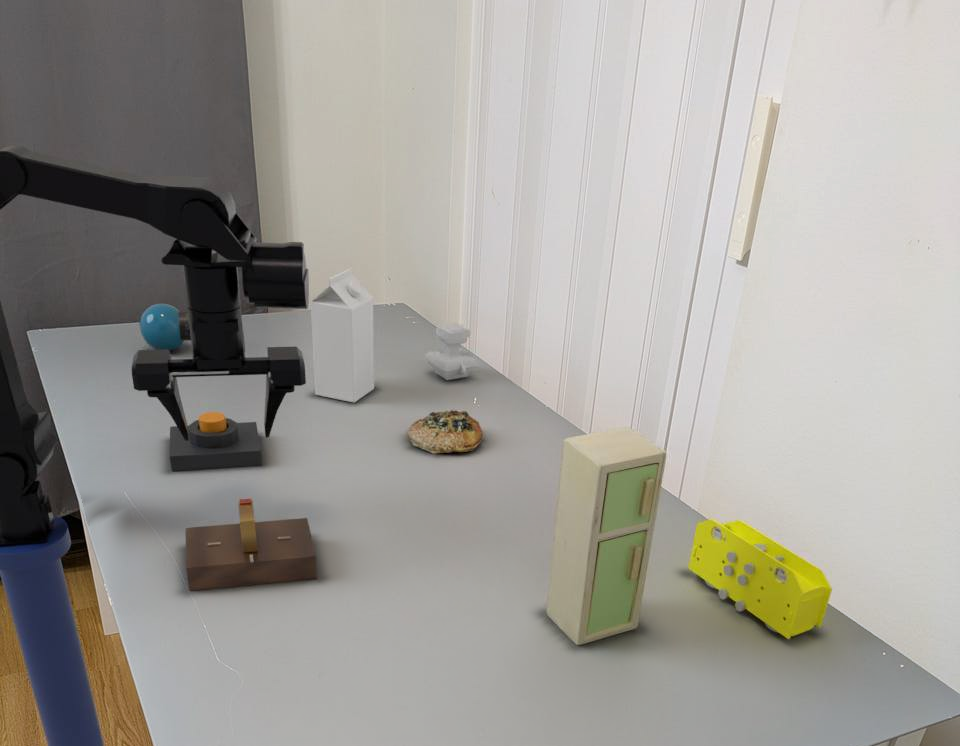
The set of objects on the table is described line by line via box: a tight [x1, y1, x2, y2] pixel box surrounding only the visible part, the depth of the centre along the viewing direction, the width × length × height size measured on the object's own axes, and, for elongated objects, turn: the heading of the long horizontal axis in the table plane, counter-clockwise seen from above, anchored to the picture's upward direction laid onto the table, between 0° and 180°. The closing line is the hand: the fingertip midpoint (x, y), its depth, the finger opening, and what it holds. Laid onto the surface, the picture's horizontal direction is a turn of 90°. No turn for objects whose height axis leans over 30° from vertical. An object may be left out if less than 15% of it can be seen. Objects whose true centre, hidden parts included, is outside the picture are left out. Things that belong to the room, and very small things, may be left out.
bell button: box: [198, 411, 227, 433], centre depth 131 cm, size 4×4×2 cm
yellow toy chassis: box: [687, 518, 833, 640], centre depth 105 cm, size 16×6×8 cm, turn 31°
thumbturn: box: [237, 497, 258, 553], centre depth 107 cm, size 5×2×4 cm, turn 14°
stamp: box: [425, 322, 479, 381], centre depth 160 cm, size 9×7×8 cm
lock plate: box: [184, 517, 318, 592], centre depth 109 cm, size 14×9×3 cm, turn 105°
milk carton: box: [310, 267, 375, 403], centre depth 149 cm, size 7×7×19 cm
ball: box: [139, 303, 185, 352], centre depth 164 cm, size 8×8×8 cm
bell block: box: [169, 417, 263, 472], centre depth 132 cm, size 12×10×4 cm
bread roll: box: [407, 409, 484, 454], centre depth 139 cm, size 11×11×5 cm
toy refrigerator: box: [546, 426, 667, 646], centre depth 97 cm, size 8×7×21 cm
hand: (227, 437), depth 112 cm, fingers open, 9 cm apart
